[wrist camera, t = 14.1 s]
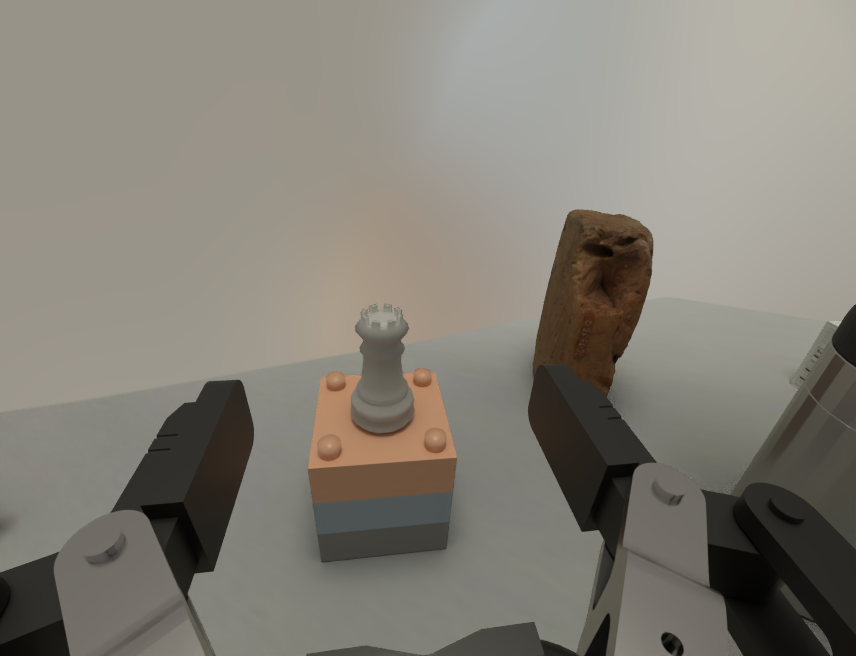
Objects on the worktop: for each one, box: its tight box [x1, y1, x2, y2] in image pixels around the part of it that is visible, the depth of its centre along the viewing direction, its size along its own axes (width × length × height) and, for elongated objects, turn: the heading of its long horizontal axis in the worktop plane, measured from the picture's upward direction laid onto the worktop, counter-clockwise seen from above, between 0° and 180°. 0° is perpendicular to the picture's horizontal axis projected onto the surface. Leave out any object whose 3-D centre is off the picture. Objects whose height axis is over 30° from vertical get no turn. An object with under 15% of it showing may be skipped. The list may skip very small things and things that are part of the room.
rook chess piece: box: [350, 304, 415, 434], centre depth 26 cm, size 4×4×8 cm
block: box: [533, 210, 653, 397], centre depth 42 cm, size 11×8×20 cm
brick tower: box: [308, 368, 457, 562], centre depth 30 cm, size 9×9×10 cm
